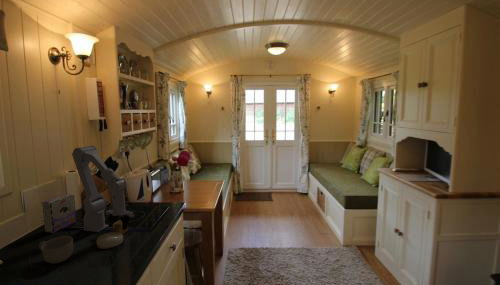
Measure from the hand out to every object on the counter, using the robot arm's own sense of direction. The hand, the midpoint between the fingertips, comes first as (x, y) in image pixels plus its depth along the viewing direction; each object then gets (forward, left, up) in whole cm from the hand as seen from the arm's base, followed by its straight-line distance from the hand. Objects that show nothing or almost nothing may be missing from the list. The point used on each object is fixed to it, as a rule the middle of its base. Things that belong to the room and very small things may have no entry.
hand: (120, 228), depth 137 cm
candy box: (-35, -2, -2) cm, 35 cm away
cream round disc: (+3, -11, -2) cm, 12 cm away
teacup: (-9, -28, -2) cm, 29 cm away
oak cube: (0, 0, -2) cm, 2 cm away
